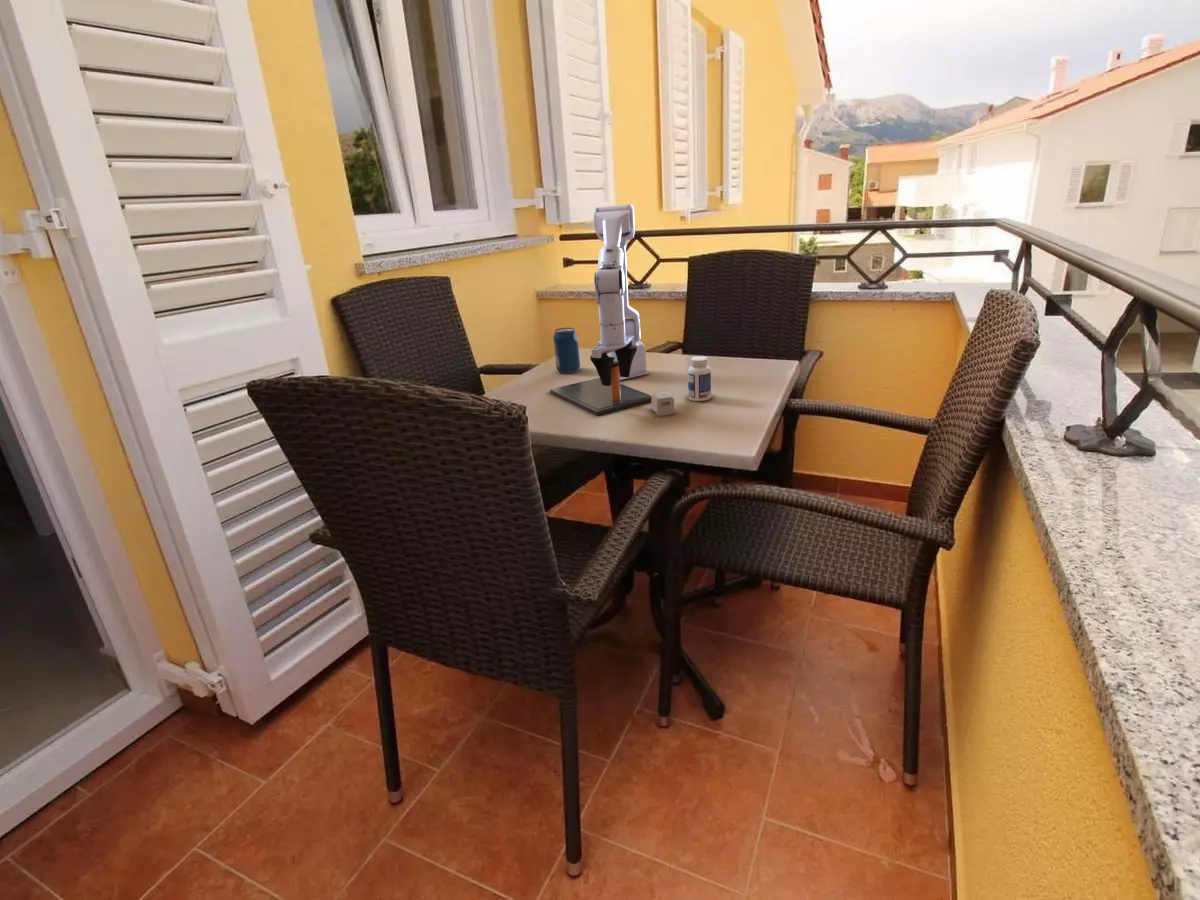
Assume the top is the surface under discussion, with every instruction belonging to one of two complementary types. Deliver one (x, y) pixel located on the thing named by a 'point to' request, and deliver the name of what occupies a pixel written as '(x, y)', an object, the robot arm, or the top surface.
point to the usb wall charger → (662, 403)
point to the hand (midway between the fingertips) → (615, 380)
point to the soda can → (566, 350)
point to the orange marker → (615, 382)
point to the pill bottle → (699, 379)
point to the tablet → (599, 396)
